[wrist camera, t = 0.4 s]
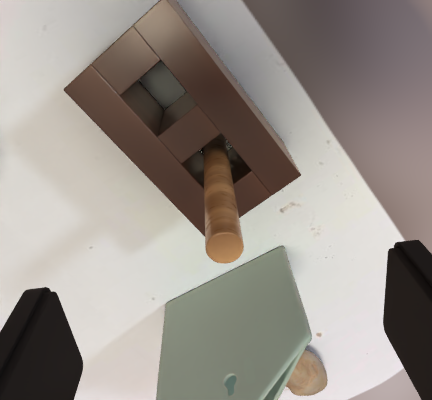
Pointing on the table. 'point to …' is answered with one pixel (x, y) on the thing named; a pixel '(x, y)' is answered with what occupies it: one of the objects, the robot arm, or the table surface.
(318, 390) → the stone
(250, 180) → the holder
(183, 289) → the table surface
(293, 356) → the planter
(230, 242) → the stirring stick
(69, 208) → the table surface
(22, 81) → the table surface
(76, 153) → the table surface
